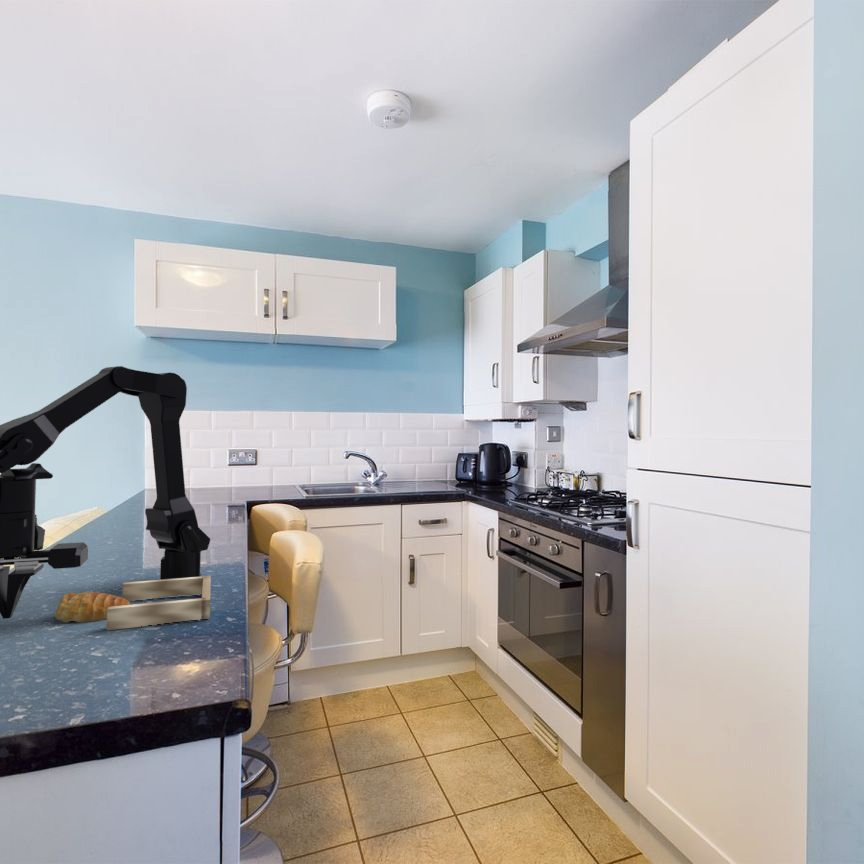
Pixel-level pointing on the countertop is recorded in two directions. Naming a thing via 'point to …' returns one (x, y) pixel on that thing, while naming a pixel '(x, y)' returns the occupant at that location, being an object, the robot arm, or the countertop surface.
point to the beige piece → (161, 603)
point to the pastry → (86, 606)
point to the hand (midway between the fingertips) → (7, 617)
